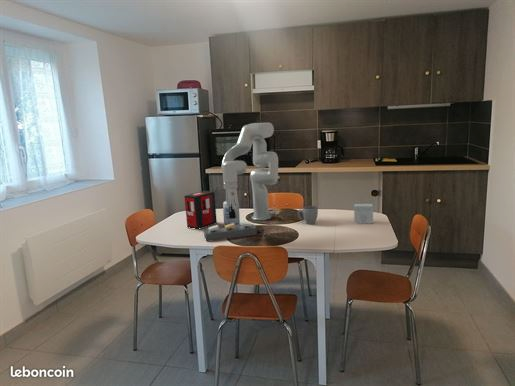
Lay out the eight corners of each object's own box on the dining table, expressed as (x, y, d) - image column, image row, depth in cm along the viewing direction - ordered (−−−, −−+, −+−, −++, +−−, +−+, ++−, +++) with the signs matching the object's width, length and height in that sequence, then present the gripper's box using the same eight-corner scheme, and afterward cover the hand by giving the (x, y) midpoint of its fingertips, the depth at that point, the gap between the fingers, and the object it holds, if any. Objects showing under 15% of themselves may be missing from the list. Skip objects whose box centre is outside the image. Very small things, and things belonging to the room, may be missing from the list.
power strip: (261, 229, 222) (261, 221, 221) (265, 233, 214) (265, 225, 213) (204, 237, 213) (203, 228, 212) (206, 241, 206) (205, 232, 205)
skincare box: (372, 220, 227) (372, 203, 225) (373, 223, 221) (373, 206, 219) (354, 220, 230) (354, 203, 228) (354, 223, 224) (354, 206, 222)
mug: (319, 221, 232) (318, 205, 230) (316, 225, 224) (316, 209, 222) (299, 221, 236) (298, 205, 234) (296, 225, 227) (296, 209, 225)
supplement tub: (226, 228, 227) (224, 204, 225) (222, 224, 236) (221, 201, 234) (242, 226, 230) (240, 202, 227) (238, 222, 239) (236, 199, 236)
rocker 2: (249, 224, 217) (249, 222, 217) (251, 226, 213) (251, 224, 213) (240, 223, 215) (240, 221, 215) (242, 225, 212) (242, 223, 212)
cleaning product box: (206, 221, 247) (204, 190, 243) (216, 223, 241) (214, 191, 237) (187, 228, 234) (184, 195, 230) (197, 229, 228) (194, 197, 225)
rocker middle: (233, 224, 214) (233, 222, 214) (235, 226, 211) (234, 224, 211) (225, 227, 213) (224, 225, 213) (226, 229, 210) (225, 227, 210)
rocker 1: (217, 226, 212) (217, 224, 212) (218, 228, 209) (218, 226, 208) (208, 229, 211) (208, 227, 211) (209, 231, 208) (209, 229, 207)
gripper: (240, 186, 202) (242, 220, 205) (234, 182, 216) (236, 214, 219) (226, 187, 200) (228, 222, 203) (221, 183, 214) (223, 216, 217)
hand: (232, 218), depth 211 cm, fingers closed
